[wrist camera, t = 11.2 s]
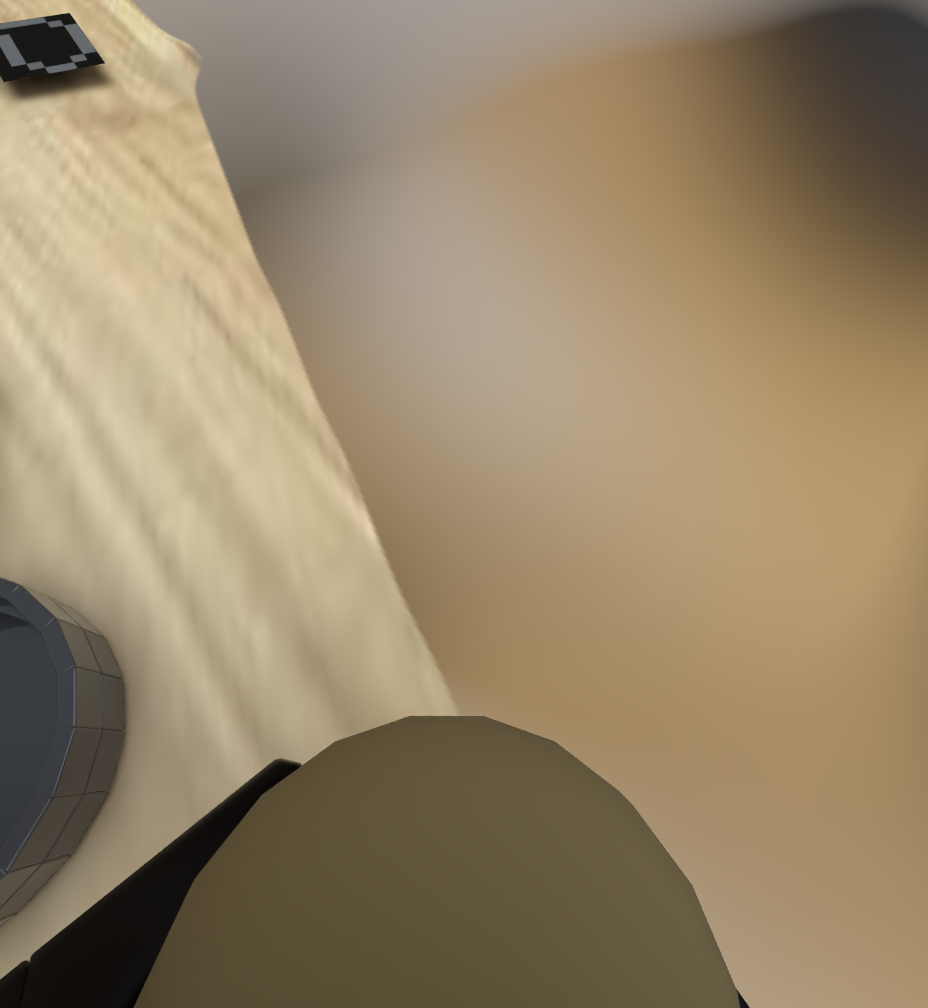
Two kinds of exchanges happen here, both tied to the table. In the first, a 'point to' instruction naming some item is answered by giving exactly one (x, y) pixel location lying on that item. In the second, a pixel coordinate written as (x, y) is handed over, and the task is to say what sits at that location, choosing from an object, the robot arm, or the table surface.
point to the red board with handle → (44, 47)
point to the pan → (51, 736)
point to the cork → (441, 887)
